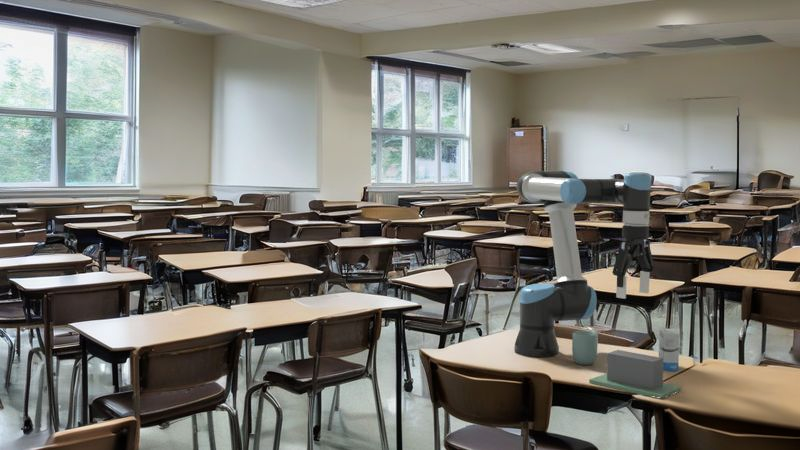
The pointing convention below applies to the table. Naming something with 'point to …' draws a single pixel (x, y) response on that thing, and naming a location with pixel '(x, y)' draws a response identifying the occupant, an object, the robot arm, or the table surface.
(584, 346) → the cup
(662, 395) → the header
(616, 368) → the block
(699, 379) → the table surface
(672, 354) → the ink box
